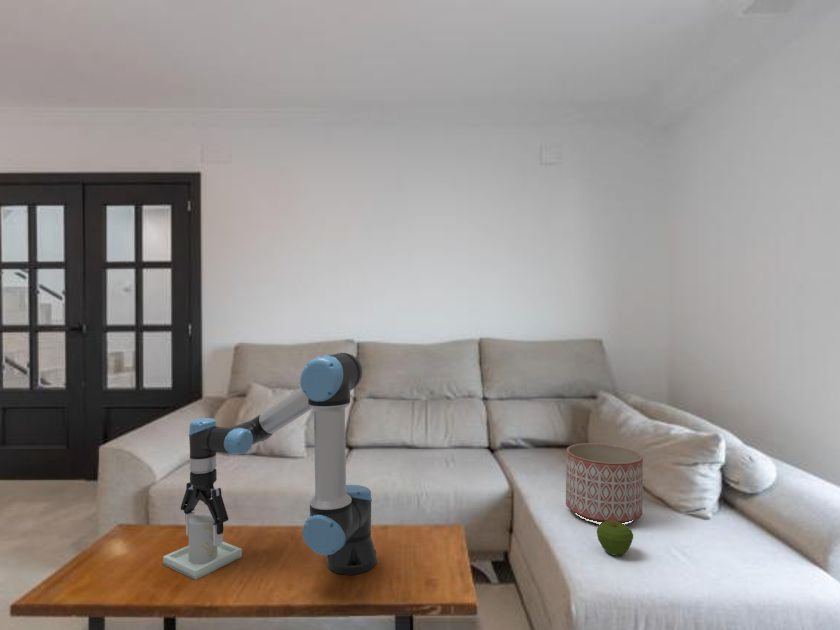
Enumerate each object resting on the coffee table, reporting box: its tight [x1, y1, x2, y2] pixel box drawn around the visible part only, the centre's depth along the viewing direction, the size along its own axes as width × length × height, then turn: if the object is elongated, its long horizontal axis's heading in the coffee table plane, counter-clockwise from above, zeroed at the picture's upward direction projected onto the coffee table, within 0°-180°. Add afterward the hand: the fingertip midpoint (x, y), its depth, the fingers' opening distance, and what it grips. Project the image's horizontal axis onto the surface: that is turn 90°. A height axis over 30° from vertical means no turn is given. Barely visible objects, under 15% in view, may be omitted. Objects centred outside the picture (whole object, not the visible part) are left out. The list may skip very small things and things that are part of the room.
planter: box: [565, 442, 644, 523], centre depth 192 cm, size 27×27×24 cm
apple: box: [596, 521, 634, 556], centre depth 161 cm, size 11×10×10 cm
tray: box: [162, 541, 243, 581], centre depth 155 cm, size 16×16×2 cm
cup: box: [188, 512, 217, 564], centre depth 155 cm, size 8×8×12 cm
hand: (204, 538), depth 155 cm, fingers open, 13 cm apart
